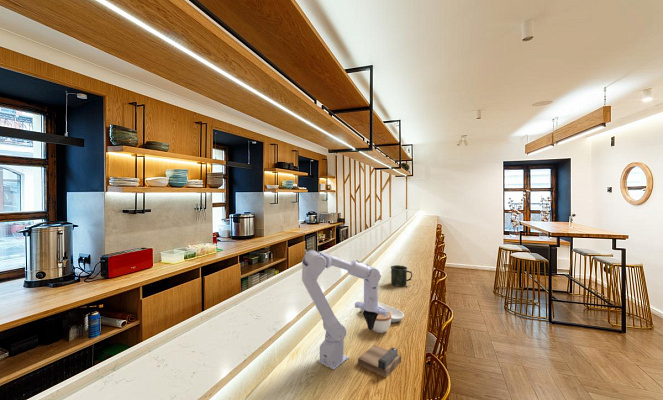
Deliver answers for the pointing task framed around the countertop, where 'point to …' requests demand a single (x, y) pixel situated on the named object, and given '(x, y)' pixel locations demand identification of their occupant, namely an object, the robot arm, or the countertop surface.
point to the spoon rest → (395, 313)
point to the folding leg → (387, 358)
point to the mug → (399, 275)
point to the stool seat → (371, 361)
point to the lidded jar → (382, 323)
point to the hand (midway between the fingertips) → (370, 328)
